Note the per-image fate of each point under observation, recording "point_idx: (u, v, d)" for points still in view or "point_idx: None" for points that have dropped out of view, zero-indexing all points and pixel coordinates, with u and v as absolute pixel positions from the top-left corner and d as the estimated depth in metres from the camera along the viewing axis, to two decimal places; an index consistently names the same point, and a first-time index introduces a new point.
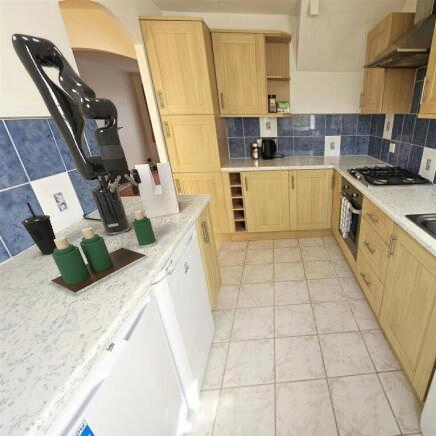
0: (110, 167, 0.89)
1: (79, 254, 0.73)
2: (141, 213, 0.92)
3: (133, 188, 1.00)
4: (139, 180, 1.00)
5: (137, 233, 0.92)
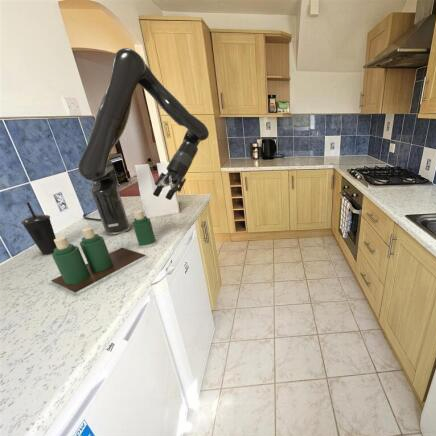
0: (184, 173, 1.02)
1: (79, 254, 0.73)
2: (141, 213, 0.92)
3: (159, 190, 1.01)
4: None
5: (137, 233, 0.92)
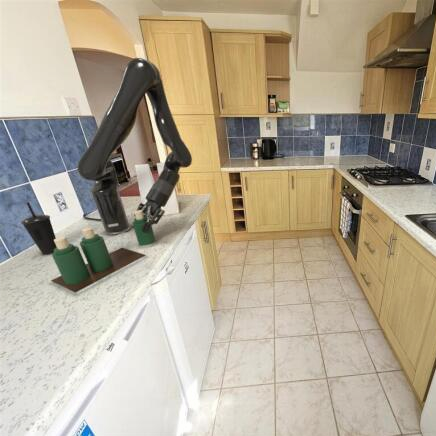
0: (165, 203, 0.97)
1: (79, 254, 0.73)
2: (141, 213, 0.92)
3: None
4: None
5: (137, 233, 0.92)
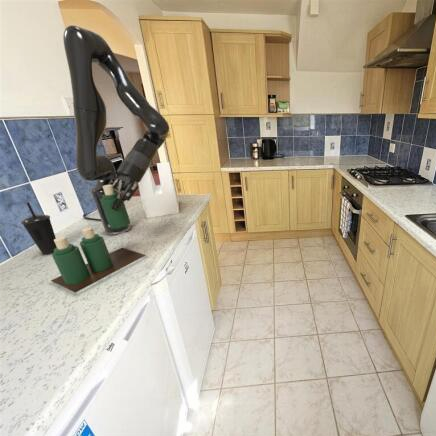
0: (140, 177, 0.85)
1: (79, 254, 0.73)
2: (110, 188, 0.79)
3: None
4: None
5: (106, 211, 0.80)
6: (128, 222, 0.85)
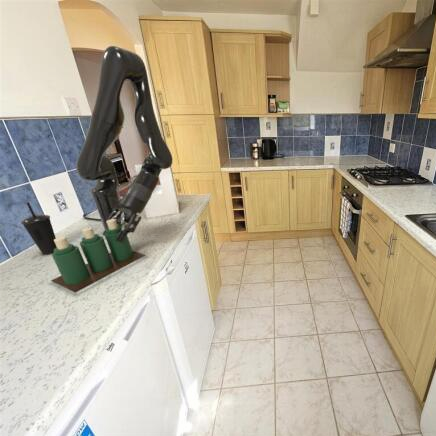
0: (141, 209, 0.86)
1: (79, 254, 0.73)
2: (114, 222, 0.81)
3: None
4: None
5: (110, 245, 0.82)
6: (131, 254, 0.87)
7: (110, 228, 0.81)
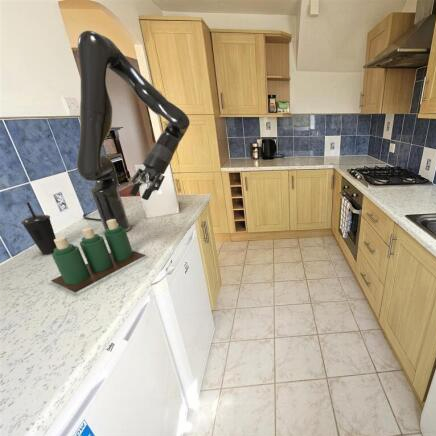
0: (164, 170, 0.91)
1: (79, 254, 0.73)
2: (114, 222, 0.81)
3: (135, 188, 0.91)
4: None
5: (110, 245, 0.82)
6: (131, 254, 0.87)
7: (110, 228, 0.81)
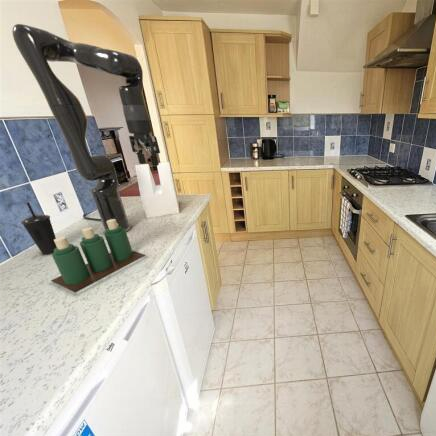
0: (150, 128, 0.88)
1: (79, 254, 0.73)
2: (114, 222, 0.81)
3: (141, 156, 0.94)
4: None
5: (110, 245, 0.82)
6: (131, 254, 0.87)
7: (110, 228, 0.81)
